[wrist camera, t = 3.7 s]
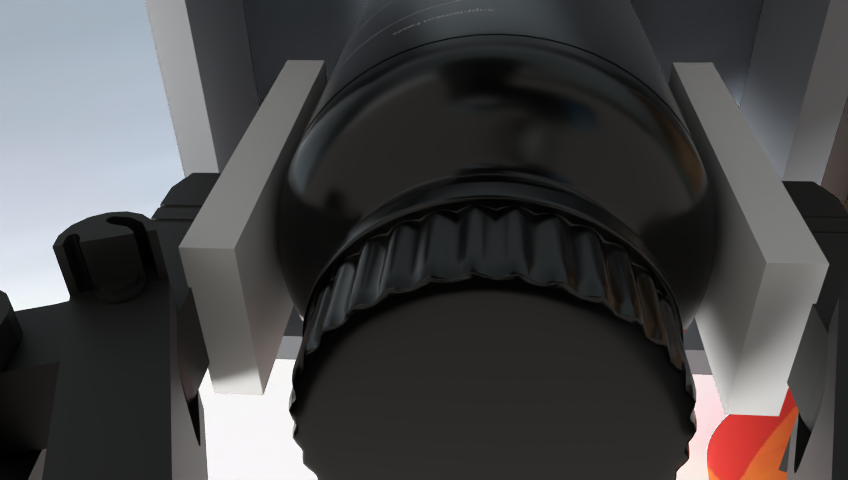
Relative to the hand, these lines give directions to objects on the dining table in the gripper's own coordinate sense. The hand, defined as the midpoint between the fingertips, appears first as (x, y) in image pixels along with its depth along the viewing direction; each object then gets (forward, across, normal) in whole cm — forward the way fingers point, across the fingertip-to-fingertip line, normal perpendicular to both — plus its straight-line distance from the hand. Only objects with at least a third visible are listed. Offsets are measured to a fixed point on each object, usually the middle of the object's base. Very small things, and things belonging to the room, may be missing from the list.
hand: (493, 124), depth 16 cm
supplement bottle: (+4, 0, 0) cm, 4 cm away
